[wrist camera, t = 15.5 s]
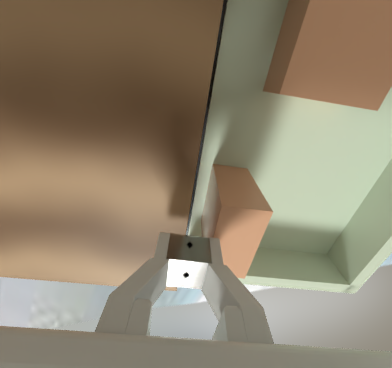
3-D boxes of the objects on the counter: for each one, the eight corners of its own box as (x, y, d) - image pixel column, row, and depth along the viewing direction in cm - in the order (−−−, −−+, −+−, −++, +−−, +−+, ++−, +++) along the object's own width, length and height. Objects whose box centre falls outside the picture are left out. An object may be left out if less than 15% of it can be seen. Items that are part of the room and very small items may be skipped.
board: (-185, -302, 6) (-895, -1016, 2) (243, -182, 7) (305, -506, 3) (18, 227, 16) (-37, 273, 13) (180, 243, 18) (176, 290, 14)
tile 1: (460, -34, 7) (395, -7, 9) (331, -65, 7) (296, -30, 9) (377, 110, 9) (342, 104, 11) (279, 94, 9) (262, 91, 11)
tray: (257, -179, 7) (303, -371, 4) (570, -91, 8) (792, -192, 5) (185, 244, 18) (184, 278, 15) (328, 258, 19) (354, 293, 16)
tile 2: (221, 205, 9) (273, 211, 9) (212, 163, 13) (247, 168, 13) (203, 274, 11) (244, 278, 11) (200, 219, 16) (230, 223, 16)
